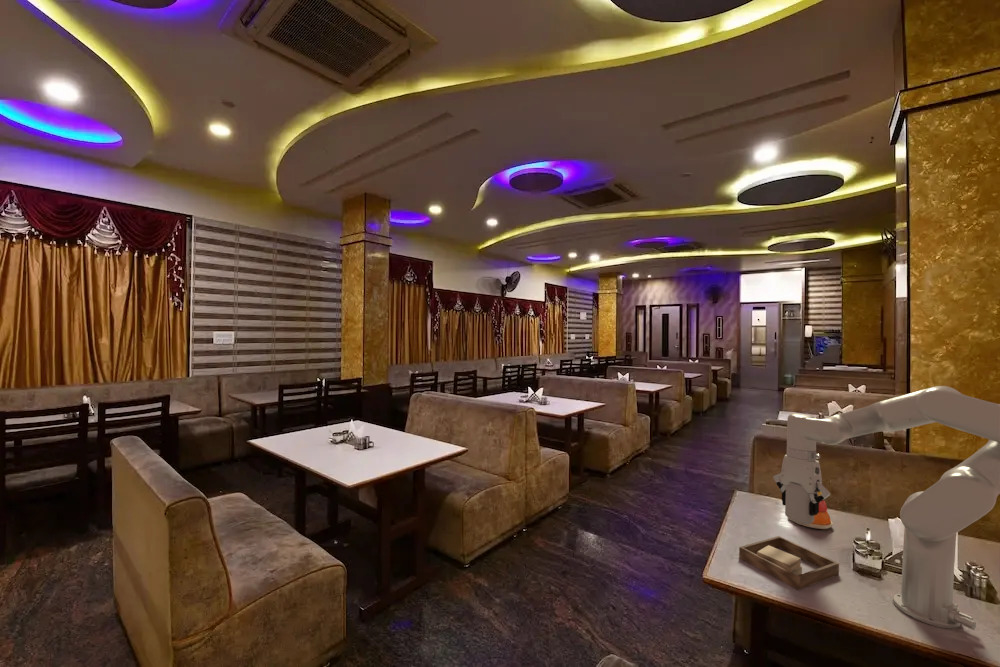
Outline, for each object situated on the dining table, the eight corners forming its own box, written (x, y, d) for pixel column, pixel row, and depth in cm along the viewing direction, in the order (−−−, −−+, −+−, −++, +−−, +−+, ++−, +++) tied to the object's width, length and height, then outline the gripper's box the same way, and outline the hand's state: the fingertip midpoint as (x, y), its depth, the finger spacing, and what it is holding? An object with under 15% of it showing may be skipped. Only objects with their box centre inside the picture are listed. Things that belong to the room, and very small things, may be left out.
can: (801, 526, 129) (802, 487, 129) (779, 516, 136) (780, 479, 136) (820, 524, 131) (821, 485, 131) (797, 514, 138) (798, 477, 138)
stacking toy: (837, 535, 153) (839, 482, 153) (790, 526, 160) (792, 475, 159) (827, 519, 166) (829, 470, 166) (784, 512, 172) (785, 464, 172)
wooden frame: (838, 574, 128) (839, 563, 128) (798, 590, 119) (798, 577, 119) (778, 546, 144) (778, 535, 144) (739, 557, 136) (739, 546, 136)
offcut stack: (804, 574, 127) (805, 560, 127) (786, 581, 123) (786, 566, 123) (771, 557, 136) (771, 544, 136) (752, 563, 133) (753, 549, 133)
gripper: (839, 460, 127) (837, 519, 127) (780, 445, 143) (779, 497, 143) (824, 463, 124) (823, 523, 124) (766, 447, 139) (764, 501, 140)
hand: (799, 509), depth 133 cm, fingers closed on can, 7 cm apart
